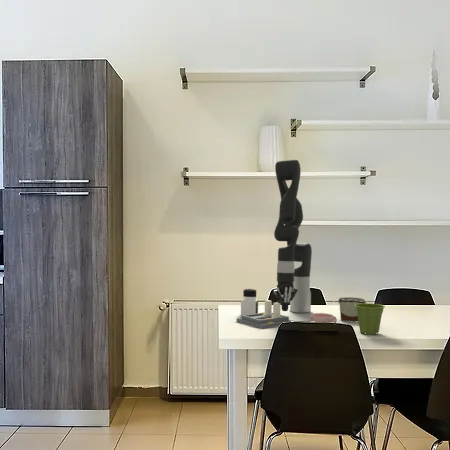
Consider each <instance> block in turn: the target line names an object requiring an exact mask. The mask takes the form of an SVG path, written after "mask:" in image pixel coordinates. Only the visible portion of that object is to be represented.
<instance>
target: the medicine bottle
mask: <svg viewBox="0 0 450 450" xmlns="http://www.w3.org/2000/svg"><path fill="white" fill-rule="evenodd" d="M242 291H243V296H242V299H241V300H240V316H241V315H249V314H257V313H259V298H257V290H256V289H255V288H245V289H243V290H242Z"/></svg>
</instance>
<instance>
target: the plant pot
mask: <svg viewBox="0 0 450 450" xmlns="http://www.w3.org/2000/svg"><path fill="white" fill-rule="evenodd" d="M355 306H356V311H357V314H358V321H359V322H358V325H359V333H360V332H362V333H361V334H363V333H366V334H367V335H369V334H373V335H376V334H375V333H378V332H380V328H381V322H382V321H381V320H382V317H383V316H382V315H383V312H384V309H385V305H384V304H379V303H367V302H366V303H361V304H355ZM366 334H365V335H366ZM378 334H379V333H378Z"/></svg>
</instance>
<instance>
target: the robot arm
mask: <svg viewBox="0 0 450 450" xmlns="http://www.w3.org/2000/svg"><path fill="white" fill-rule="evenodd" d="M274 168H275V171H274V172H275V177H276V180H277V181H276V182H277V185H278V191H279V196H280V202H279V211H278V212H279V213H278V215H279V216H278V221H277V223H276V226H275V229H274V232H273V233H274V234H273V236H274V238H275V240H276V241H278V242H286V243H287V244H286V245H285V246H280V247H279V248H278V249H277V266H276V282H277V284H276V288H275V289H273V290H272V293H273V295H274V297H275V298H276V300H277V302H280V303H281V306H280V310H281V311H282V312H288V311H290V312H292V313H300V314H302V313H303V314H304V313H309V312H311V307H312V292H311V288H310V283H311V267H312V255H313V254H312V251H313V250H312V249H313V248H312V246H311V244H310V243H307V242H297V241H298V239H299V235H300V231H299V228H300V227H301V225H302V223H303V221H304V214H303V206H302V203H301V202H300V200H299V199H298V198H297V196H298V191H299V185H300V182H301V181H300V180H301V173H302V171H301V169H302V168H301V164H300V162H299V160H298V159H287V160H286V159H285V160H278V161H276V163H275V166H274ZM287 181H291V182H290V185H289V186H288V184H287ZM295 262H296V263H297V262H299V263H301V264H300V266H298V267H296V268H295Z"/></svg>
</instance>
